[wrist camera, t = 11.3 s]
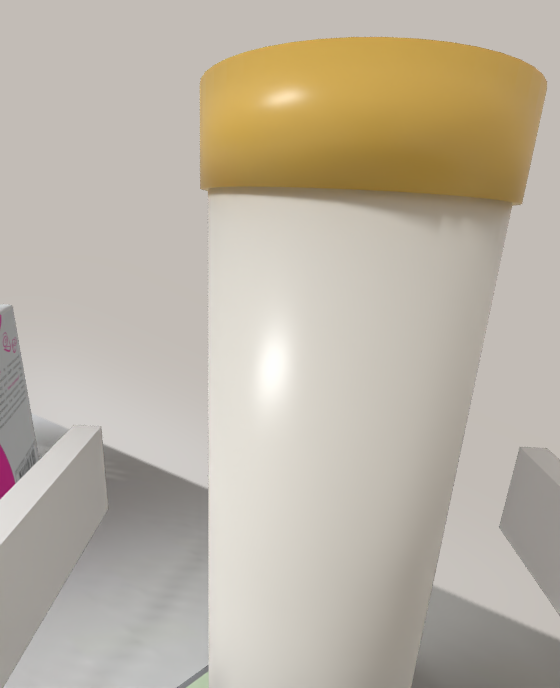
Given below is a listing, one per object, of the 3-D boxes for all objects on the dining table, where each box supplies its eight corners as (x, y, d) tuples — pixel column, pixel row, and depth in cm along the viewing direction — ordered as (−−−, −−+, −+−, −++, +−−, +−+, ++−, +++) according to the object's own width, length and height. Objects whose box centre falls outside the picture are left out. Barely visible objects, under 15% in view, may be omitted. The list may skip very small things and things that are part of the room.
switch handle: (278, 1066, 8) (405, -18, 3) (174, 815, 11) (143, 94, 6) (410, 854, 10) (598, 109, 5) (296, 702, 13) (348, 140, 8)
